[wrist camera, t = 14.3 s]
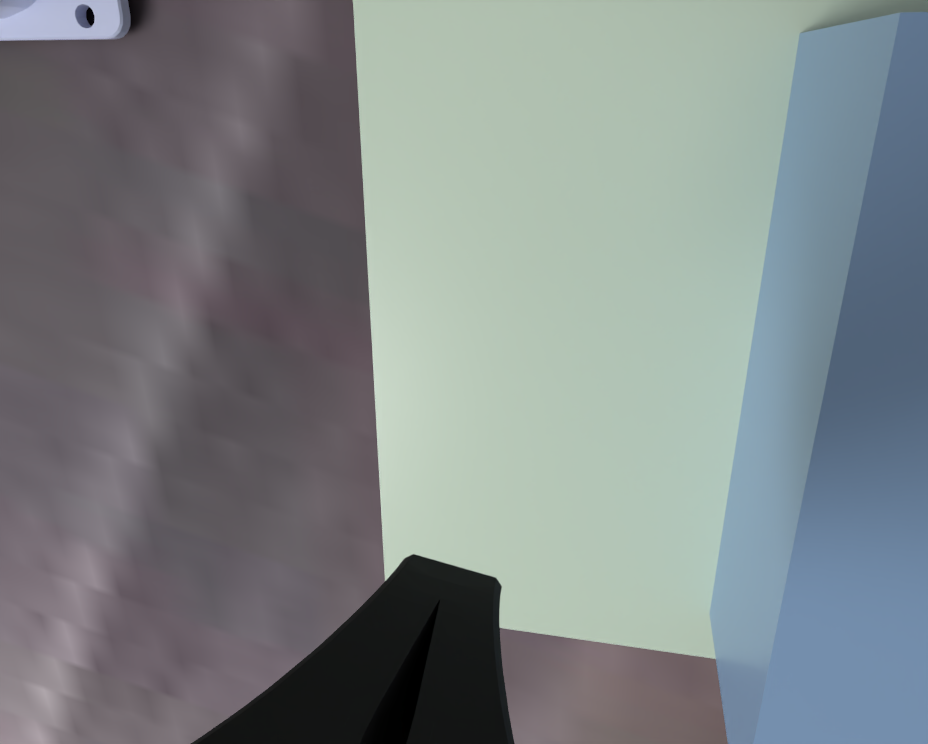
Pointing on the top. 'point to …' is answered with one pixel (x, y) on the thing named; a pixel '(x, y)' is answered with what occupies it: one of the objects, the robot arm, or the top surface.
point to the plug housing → (836, 413)
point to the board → (571, 288)
